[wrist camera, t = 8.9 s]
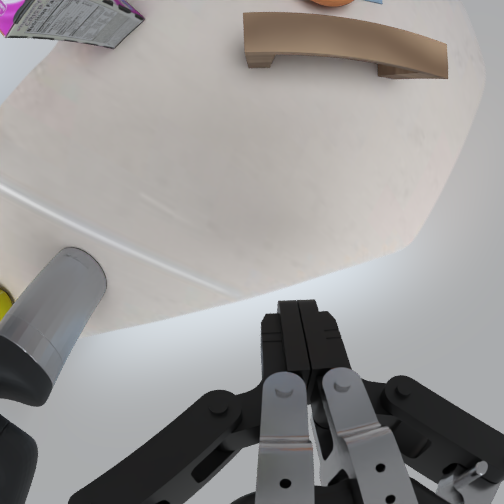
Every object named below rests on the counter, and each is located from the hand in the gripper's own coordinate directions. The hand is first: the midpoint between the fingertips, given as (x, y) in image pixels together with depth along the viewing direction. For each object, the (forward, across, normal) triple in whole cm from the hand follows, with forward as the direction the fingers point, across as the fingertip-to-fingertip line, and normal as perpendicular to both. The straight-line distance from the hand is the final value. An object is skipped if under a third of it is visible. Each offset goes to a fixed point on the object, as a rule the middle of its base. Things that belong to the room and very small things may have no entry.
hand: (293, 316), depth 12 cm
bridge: (+19, -6, -14) cm, 25 cm away
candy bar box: (+20, +17, -22) cm, 34 cm away
